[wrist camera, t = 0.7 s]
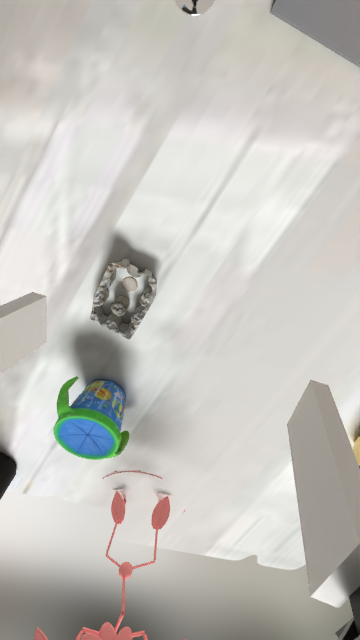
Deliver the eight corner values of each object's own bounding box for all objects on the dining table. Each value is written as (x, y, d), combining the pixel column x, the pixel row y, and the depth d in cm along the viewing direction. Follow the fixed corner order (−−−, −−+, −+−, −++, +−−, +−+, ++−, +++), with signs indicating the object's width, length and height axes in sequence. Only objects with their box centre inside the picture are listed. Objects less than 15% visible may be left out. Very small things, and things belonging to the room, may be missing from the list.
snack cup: (59, 369, 51) (28, 413, 43) (108, 353, 48) (85, 397, 40) (104, 425, 58) (85, 473, 49) (150, 414, 55) (138, 463, 46)
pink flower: (193, 513, 72) (179, 772, 41) (93, 499, 73) (9, 739, 43) (199, 476, 64) (186, 760, 34) (87, 462, 66) (-20, 720, 35)
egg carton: (117, 250, 39) (108, 259, 36) (165, 276, 41) (161, 288, 37) (91, 307, 44) (81, 321, 41) (134, 329, 46) (128, 344, 42)
